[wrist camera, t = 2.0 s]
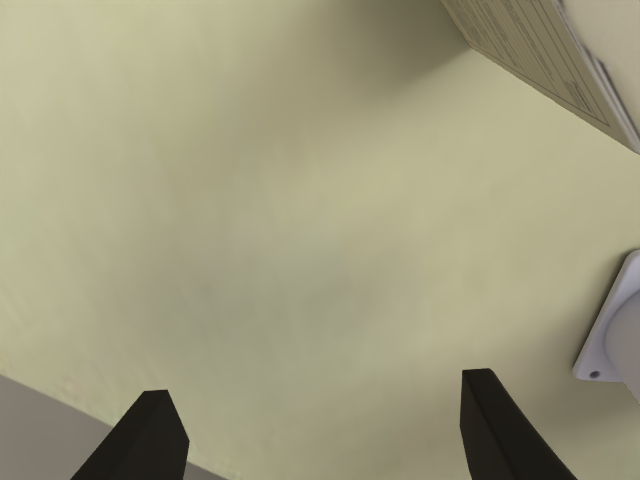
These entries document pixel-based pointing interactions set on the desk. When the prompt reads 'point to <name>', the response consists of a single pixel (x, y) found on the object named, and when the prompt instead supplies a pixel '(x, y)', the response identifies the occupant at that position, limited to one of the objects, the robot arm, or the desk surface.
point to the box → (566, 54)
